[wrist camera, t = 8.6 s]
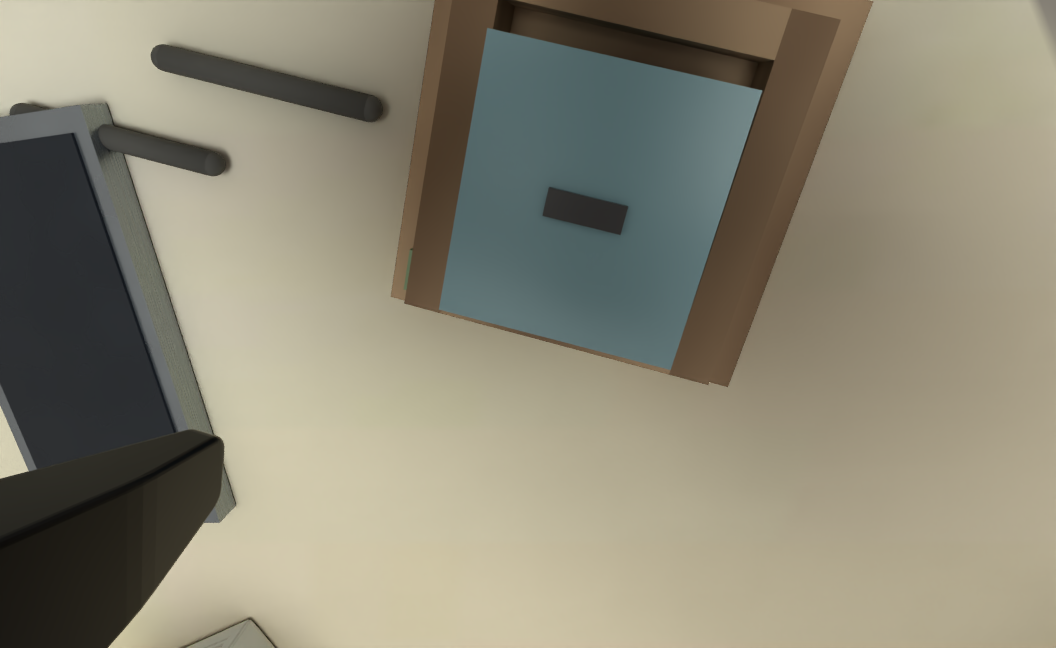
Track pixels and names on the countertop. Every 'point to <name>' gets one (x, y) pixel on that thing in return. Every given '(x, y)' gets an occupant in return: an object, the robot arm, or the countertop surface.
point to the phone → (84, 300)
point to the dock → (668, 42)
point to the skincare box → (236, 638)
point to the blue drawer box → (591, 195)
